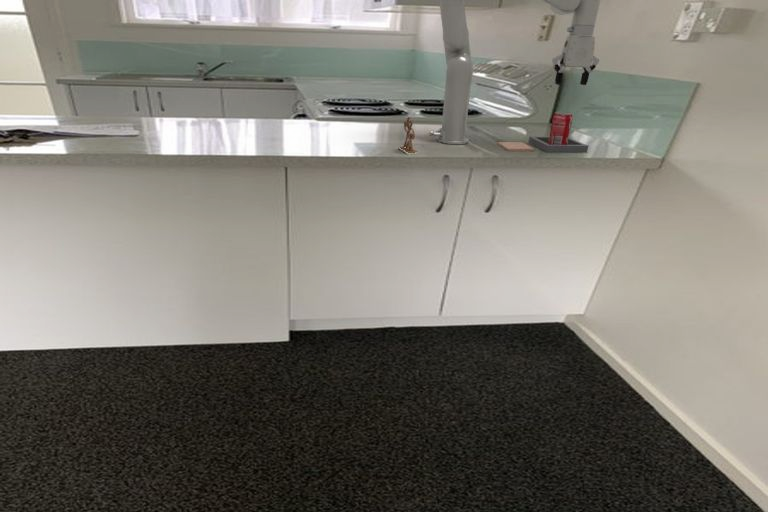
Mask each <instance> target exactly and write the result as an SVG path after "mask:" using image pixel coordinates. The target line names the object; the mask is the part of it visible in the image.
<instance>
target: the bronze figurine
mask: <svg viewBox="0 0 768 512" xmlns="http://www.w3.org/2000/svg"><path fill="white" fill-rule="evenodd" d="M413 122H414V121H413V118H412V117H411V116H408V117H407V118H406V120H405V121H403V128H404V131H405V132H406V137H405V141H404V142H403V143H404V144H403V145H402V146H399V147H400V148H401V149H403V150H405V151H406V152H408V153H415V152H418V151H417V150H415V149H414V147H413V142H412V141H413V140H415V136H416V135H415V130H414V128H412V127H413V125H414V123H413ZM404 147H406V148H404Z"/></svg>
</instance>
